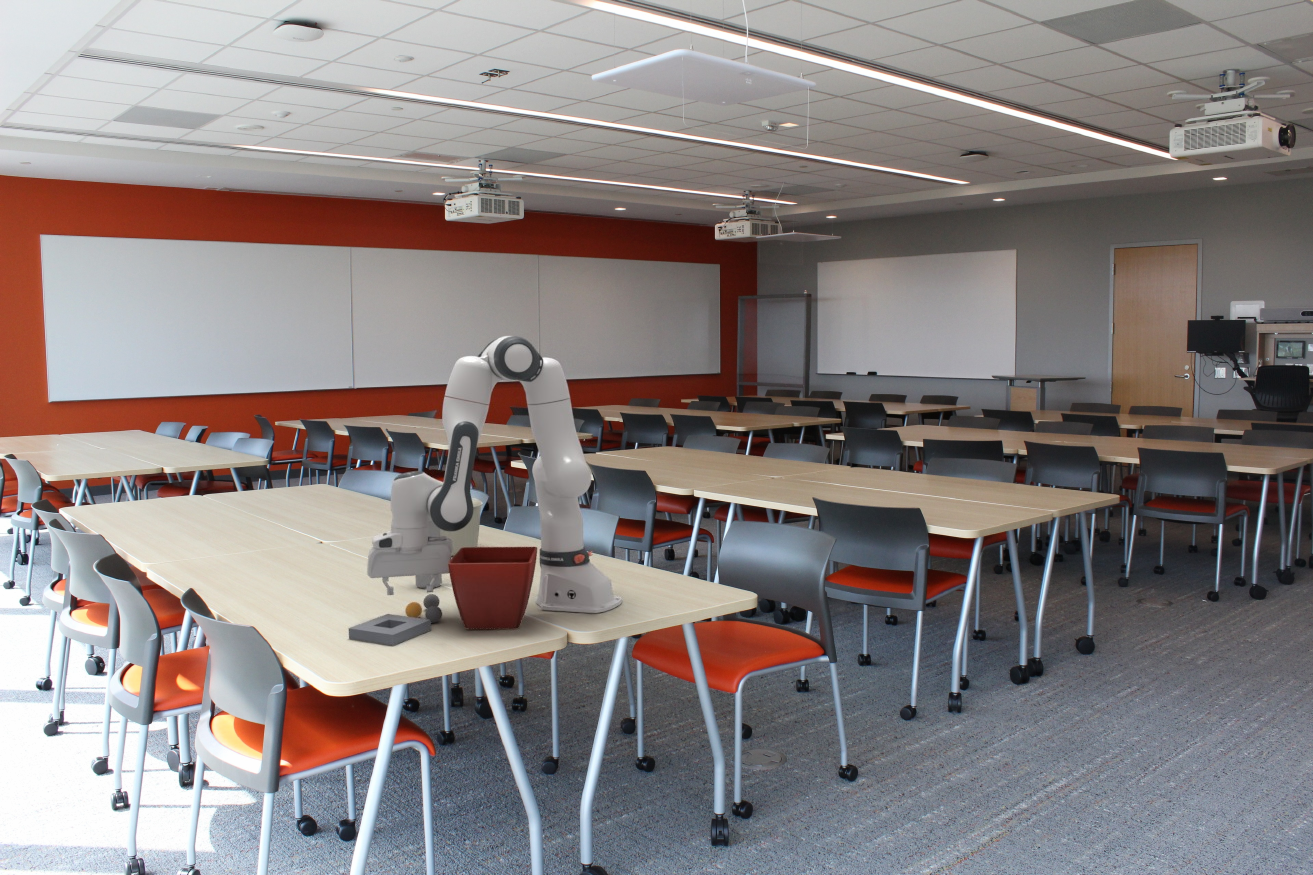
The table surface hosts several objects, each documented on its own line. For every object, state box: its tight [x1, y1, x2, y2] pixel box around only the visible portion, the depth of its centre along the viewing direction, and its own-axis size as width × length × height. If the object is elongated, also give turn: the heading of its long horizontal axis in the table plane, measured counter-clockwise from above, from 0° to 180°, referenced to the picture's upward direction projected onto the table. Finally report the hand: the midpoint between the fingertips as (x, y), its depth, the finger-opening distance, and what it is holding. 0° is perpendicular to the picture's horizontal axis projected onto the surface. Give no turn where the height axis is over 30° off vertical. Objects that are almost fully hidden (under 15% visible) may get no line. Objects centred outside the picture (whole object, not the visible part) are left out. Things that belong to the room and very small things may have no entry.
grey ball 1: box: [423, 593, 441, 610], centre depth 240 cm, size 4×4×4 cm
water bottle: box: [415, 521, 445, 590], centre depth 264 cm, size 9×8×25 cm
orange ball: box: [404, 601, 423, 618], centre depth 232 cm, size 4×4×4 cm
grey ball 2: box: [424, 606, 443, 624], centre depth 228 cm, size 4×4×4 cm
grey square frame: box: [348, 613, 432, 646], centre depth 219 cm, size 13×13×2 cm
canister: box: [440, 496, 484, 557], centre depth 307 cm, size 18×18×21 cm
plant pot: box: [448, 546, 538, 630], centre depth 227 cm, size 19×19×17 cm
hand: (410, 593), depth 232 cm, fingers open, 8 cm apart
